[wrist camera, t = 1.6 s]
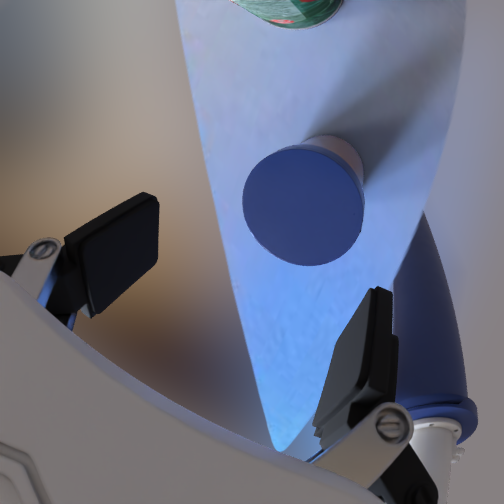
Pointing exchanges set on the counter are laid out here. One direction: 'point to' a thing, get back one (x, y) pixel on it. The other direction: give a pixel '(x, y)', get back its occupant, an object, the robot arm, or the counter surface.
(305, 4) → the canned tomato
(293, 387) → the counter surface
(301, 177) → the jar lid
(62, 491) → the robot arm
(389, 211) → the counter surface
